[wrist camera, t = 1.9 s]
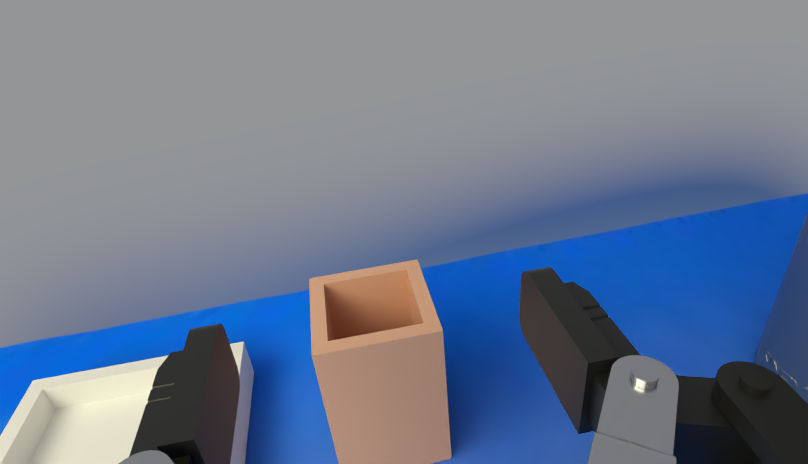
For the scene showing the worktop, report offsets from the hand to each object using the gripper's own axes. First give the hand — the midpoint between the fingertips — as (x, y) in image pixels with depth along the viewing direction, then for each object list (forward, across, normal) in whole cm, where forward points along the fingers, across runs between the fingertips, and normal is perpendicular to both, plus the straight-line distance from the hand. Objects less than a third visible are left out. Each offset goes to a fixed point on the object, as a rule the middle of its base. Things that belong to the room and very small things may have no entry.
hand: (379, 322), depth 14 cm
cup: (+11, 0, +18) cm, 21 cm away
